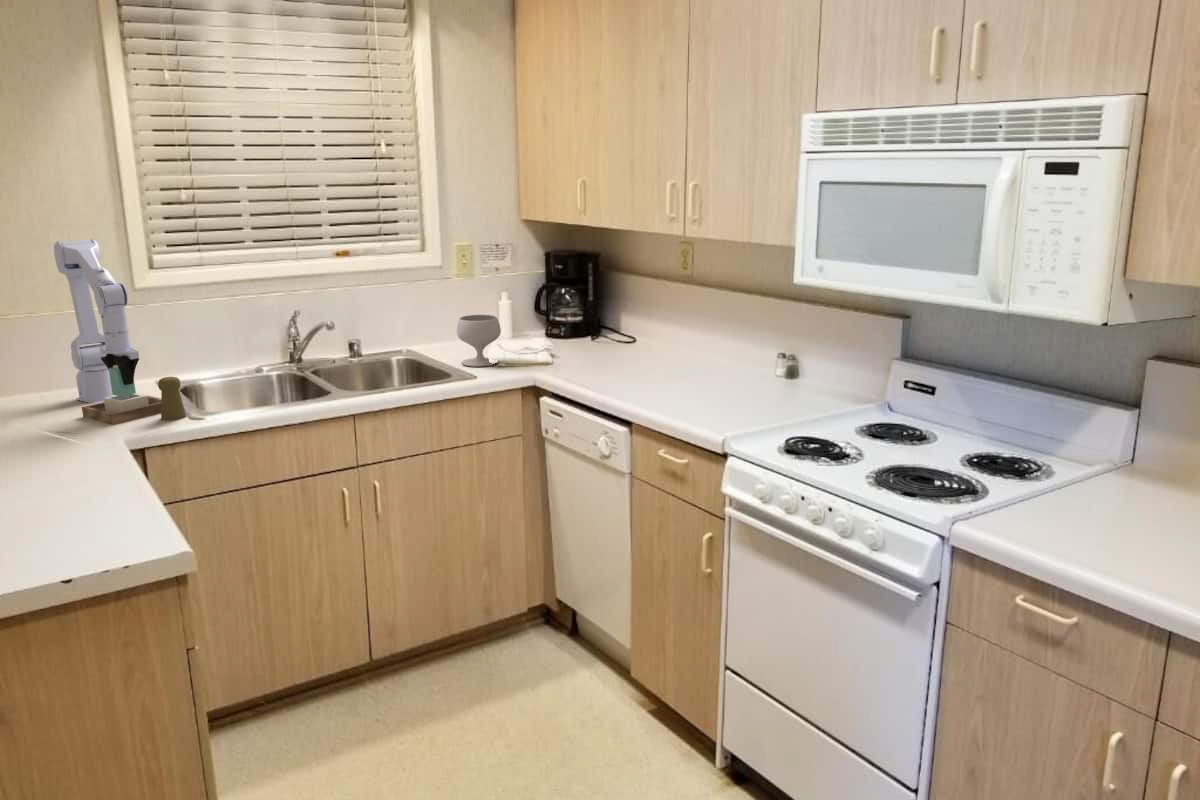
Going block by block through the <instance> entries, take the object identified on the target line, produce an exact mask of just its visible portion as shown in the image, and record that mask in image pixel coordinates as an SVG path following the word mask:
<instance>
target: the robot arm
mask: <svg viewBox="0 0 1200 800" xmlns="http://www.w3.org/2000/svg"><path fill="white" fill-rule="evenodd" d="M53 254H54V259H55V264H56V268H57V270H58V272H59V273H60V274H63V275H64V276H65V277H66V279H67V282H68V286H69V290H70V295H71V300H72V305H73V309H74V314H75V317H76V322H77V326H78V331H79V334H78V335H77V337H76V338H74V339H73V340H71V344H70V349H71V350H70V351H71V361H72V364H73V366H74V367H75V369H77V370H78V371H77V373H76V376H75V378H76V379H75V380H76V385H77V392H78V397H77V398H76V399H75V400H77V401H79V400H80V401H79V402H83V401H84V403H87V402H88V404H92V405H94V404H98V403H102V402H104V398H107V397H111V396H116V395H112V388H111V382H110V375H109V369H108V368H113V366H114V365H117V366H118V368H119V370H120V373H121V377H122V381H123V383H124V385H129V384H133V380H134V381H135V379H134V378H135V373H136V368H137V365H138V363H139V360H140V355H139V354H140V353H139V350H136V349H135V348H134V347H132V345H131V340H130V339H131V338H130V332H129V327H128V326H129V325H128V320H127V311H126V307H127V306H128V300H129V299H128V293H127V290H126V287H125V285H124V284H123V283H122V282H116V280H115V278H114V277H113V275H111V273H110V271H109V270H108V269H107V268H105V267H101V264H100V261H99V260H100V258H101V257H100V256H101V250H100V248H99V244H98V242H97V241H96V240H95V239H94V238H91V239H82V240H64V241H61V240H60V241H59V240H57V241H56V242H55V243H54V245H53ZM91 290H92V292H93V295H94V301H95V305H96V307H97V312H98V315H100V317H101V324H102V325H101V326H102V331H103V333H101V332H100V330H99V325H98V322H97V321H98V319H97V317H96V312H95V308H94V307H95V306H94V303H93V302H94V301H93V298H92V292H91ZM90 344H91V345H90ZM84 345H85V346H84Z"/></svg>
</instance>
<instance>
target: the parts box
mask: <svg viewBox="0 0 1200 800" xmlns="http://www.w3.org/2000/svg"><path fill="white" fill-rule="evenodd" d="M142 395H144V394H142ZM147 396H148V403H149V405H146V406H142V407H138V408H133V409H129V410H125V411H121V412H117V413H110V412H106V410H105V404H104V402H100V403H95V404H89V405H86V406H82V407H81V411H82V412H81V413H82V418H84V419H85V418H86V419H89V420H93V421H96V422H97V421H98V422H101V423H104V424H108V425H112V426H115V425H118V424H122V423H127V422H130V421H134V420H138V419H143V418H147V417H150V416H155V415H159V414H161V397H156V396H151V395H147Z"/></svg>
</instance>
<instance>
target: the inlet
mask: <svg viewBox="0 0 1200 800" xmlns="http://www.w3.org/2000/svg"><path fill="white" fill-rule="evenodd" d="M148 396H149V395H147V394H143V395H142V394H141V393H138V392H136V393H135V394H130V395H126V396H111V397H107V398H104V404H105V410H106V412H110V413H117V412H121V411H125V410H129V409H133V408H138V407H142V406H146V405H149V403H148Z"/></svg>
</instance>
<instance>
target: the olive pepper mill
mask: <svg viewBox="0 0 1200 800" xmlns="http://www.w3.org/2000/svg"><path fill="white" fill-rule="evenodd" d="M157 383H158V384H157V386H158V389H159V391H161V392H160V393H161V397H160V398H161V413H160V418H161V420H162V421H166V422H171V421H178V420H183V419H185V418H186V417H187V414H186V409H185V405H184V403H183V400H182V399H183V398H182V396H181V391H180V388H181V380H180V378H178V377H176V376H165V377H162V378H160V379H159V380H158V382H157Z"/></svg>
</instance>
